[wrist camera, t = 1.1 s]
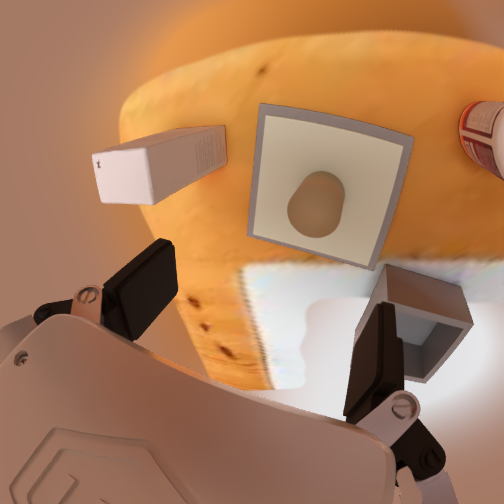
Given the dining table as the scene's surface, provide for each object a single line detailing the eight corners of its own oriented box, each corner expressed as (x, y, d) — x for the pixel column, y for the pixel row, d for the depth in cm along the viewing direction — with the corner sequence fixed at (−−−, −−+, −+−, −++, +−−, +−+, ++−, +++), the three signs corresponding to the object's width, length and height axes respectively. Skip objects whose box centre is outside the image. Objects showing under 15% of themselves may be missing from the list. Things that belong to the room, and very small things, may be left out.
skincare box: (180, 165, 29) (99, 204, 19) (176, 128, 27) (89, 153, 17) (229, 165, 27) (153, 207, 17) (227, 124, 25) (144, 145, 15)
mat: (413, 137, 19) (414, 137, 19) (373, 269, 27) (373, 271, 26) (261, 103, 23) (259, 103, 22) (248, 234, 30) (246, 235, 30)
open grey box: (461, 287, 23) (473, 324, 19) (422, 346, 29) (425, 383, 24) (385, 264, 26) (387, 300, 21) (355, 329, 31) (350, 367, 27)
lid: (401, 144, 20) (415, 156, 15) (367, 260, 26) (366, 297, 21) (269, 114, 23) (243, 118, 18) (256, 230, 29) (233, 258, 24)
